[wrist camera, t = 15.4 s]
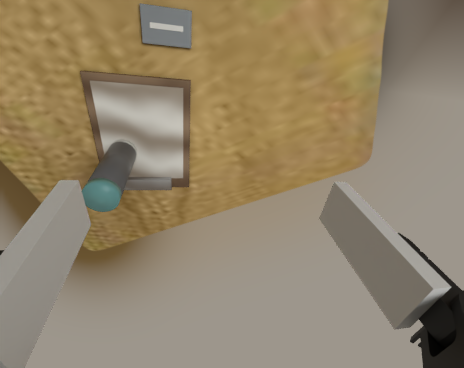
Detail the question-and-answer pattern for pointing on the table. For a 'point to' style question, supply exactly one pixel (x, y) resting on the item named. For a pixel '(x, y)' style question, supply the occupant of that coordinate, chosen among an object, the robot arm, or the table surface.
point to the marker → (110, 177)
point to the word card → (166, 26)
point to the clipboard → (143, 124)
